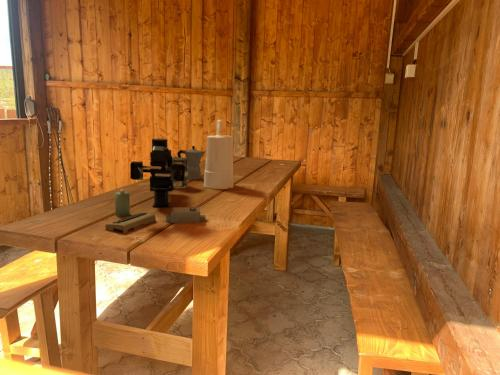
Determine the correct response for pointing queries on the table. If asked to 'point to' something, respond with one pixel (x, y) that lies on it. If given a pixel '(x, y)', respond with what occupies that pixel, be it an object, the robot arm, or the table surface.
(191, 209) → the housing
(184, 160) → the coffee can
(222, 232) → the table surface
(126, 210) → the cylinder
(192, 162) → the coffeepot
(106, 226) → the computer
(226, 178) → the paper towel roll holder
